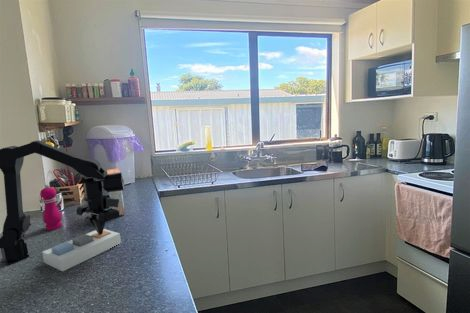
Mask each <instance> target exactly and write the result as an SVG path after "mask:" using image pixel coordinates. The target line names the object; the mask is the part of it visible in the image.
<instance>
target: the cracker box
mask: <svg viewBox="0 0 470 313" xmlns="http://www.w3.org/2000/svg"><path fill="white" fill-rule="evenodd" d="M106 172H107V173H108V174H115V173H119V172H120V168H112V169H110V168H109V169H107V170H106ZM108 195H109V196H110V198H115V199H119V204H118V207H110V209H111V208H112V209H116V210H118V211H119V213H120V216H124V215H125V205H124V197H123V191H115V192H108Z"/></svg>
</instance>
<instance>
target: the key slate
mask: <svg viewBox="0 0 470 313" xmlns="http://www.w3.org/2000/svg"><path fill="white" fill-rule="evenodd" d="M50 248H51V249H52V253H53V254H56V255H58V256H60V255H62V254H65V253H67V252H69V251H71V250H74V246H73V244H70V243H68V241H65V242H62V243H59V244H58V245H55V246H52V247H50Z"/></svg>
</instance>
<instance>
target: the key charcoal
mask: <svg viewBox="0 0 470 313" xmlns="http://www.w3.org/2000/svg"><path fill="white" fill-rule="evenodd" d="M86 234H87V233H85V234H82V235H79V236H77V237H75V238H72V239H71V240H72V242H73V244H74V245H76V246H79V247H81V246H83V245H85V244H88V243H90V242H92V241H93V237H92V236H89V235H86Z"/></svg>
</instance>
